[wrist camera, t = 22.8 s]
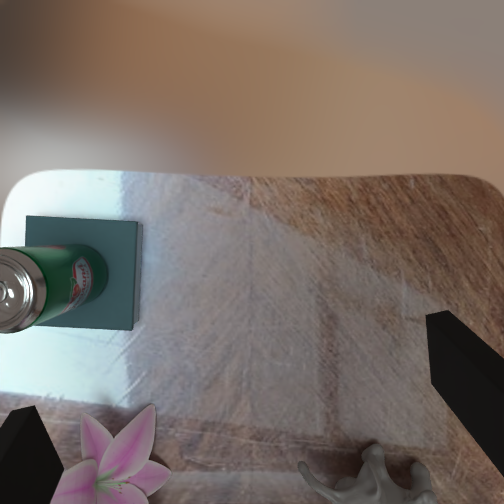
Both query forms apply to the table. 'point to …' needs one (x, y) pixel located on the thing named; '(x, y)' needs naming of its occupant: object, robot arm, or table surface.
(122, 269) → the square coaster
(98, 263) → the soda can
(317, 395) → the table surface
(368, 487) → the elephant statuette
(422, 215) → the table surface
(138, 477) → the lily
